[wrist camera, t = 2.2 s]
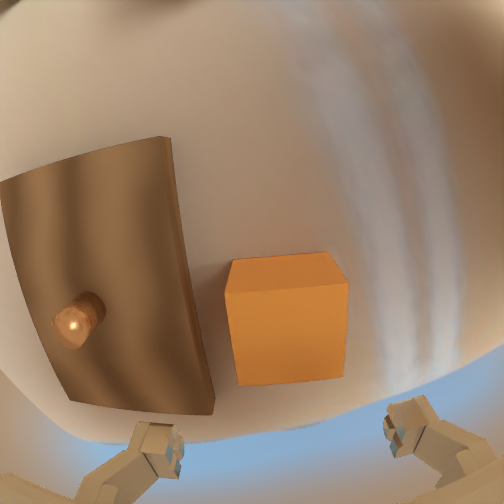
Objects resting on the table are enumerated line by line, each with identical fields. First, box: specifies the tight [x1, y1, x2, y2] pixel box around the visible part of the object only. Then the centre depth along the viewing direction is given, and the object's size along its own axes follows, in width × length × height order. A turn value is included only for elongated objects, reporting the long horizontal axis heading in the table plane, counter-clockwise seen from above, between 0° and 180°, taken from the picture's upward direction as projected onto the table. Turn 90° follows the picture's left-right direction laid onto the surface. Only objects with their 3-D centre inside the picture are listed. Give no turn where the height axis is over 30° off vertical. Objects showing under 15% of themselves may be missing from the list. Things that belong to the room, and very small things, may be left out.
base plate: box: [0, 136, 215, 415], centre depth 19 cm, size 14×20×2 cm
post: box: [51, 291, 106, 350], centre depth 17 cm, size 2×2×4 cm
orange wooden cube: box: [224, 252, 349, 386], centre depth 17 cm, size 6×6×5 cm
